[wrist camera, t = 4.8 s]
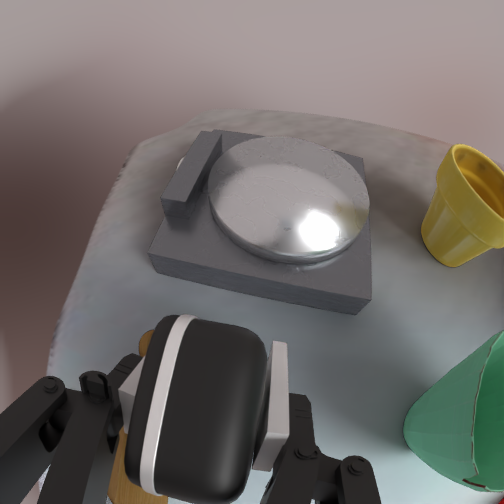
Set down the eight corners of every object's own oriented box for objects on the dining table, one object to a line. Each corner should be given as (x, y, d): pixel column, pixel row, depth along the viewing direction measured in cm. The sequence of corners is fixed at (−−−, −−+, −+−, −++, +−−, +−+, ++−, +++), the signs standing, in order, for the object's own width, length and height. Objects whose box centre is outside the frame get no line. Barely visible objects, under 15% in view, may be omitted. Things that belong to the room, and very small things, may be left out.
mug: (356, 475, 13) (444, 504, 5) (393, 355, 18) (481, 304, 10) (479, 476, 11) (558, 470, 3) (499, 383, 16) (573, 350, 8)
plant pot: (474, 300, 21) (536, 248, 13) (399, 256, 23) (454, 183, 15) (474, 232, 26) (516, 179, 18) (411, 192, 29) (446, 128, 20)
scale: (354, 178, 29) (368, 143, 25) (355, 315, 20) (384, 287, 16) (210, 150, 30) (208, 113, 26) (151, 271, 21) (133, 234, 17)
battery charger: (247, 465, 14) (243, 533, 4) (190, 454, 14) (112, 496, 5) (263, 369, 18) (280, 310, 8) (208, 360, 18) (158, 291, 8)
